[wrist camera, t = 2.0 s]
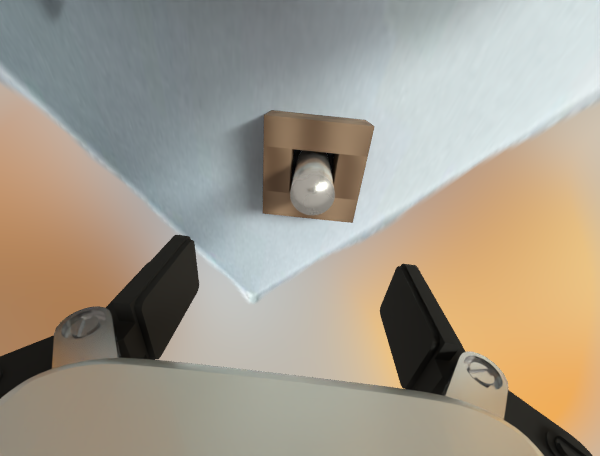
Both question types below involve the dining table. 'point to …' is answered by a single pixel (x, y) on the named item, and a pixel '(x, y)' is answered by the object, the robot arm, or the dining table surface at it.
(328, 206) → the plug
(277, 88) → the dining table surface
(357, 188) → the socket
